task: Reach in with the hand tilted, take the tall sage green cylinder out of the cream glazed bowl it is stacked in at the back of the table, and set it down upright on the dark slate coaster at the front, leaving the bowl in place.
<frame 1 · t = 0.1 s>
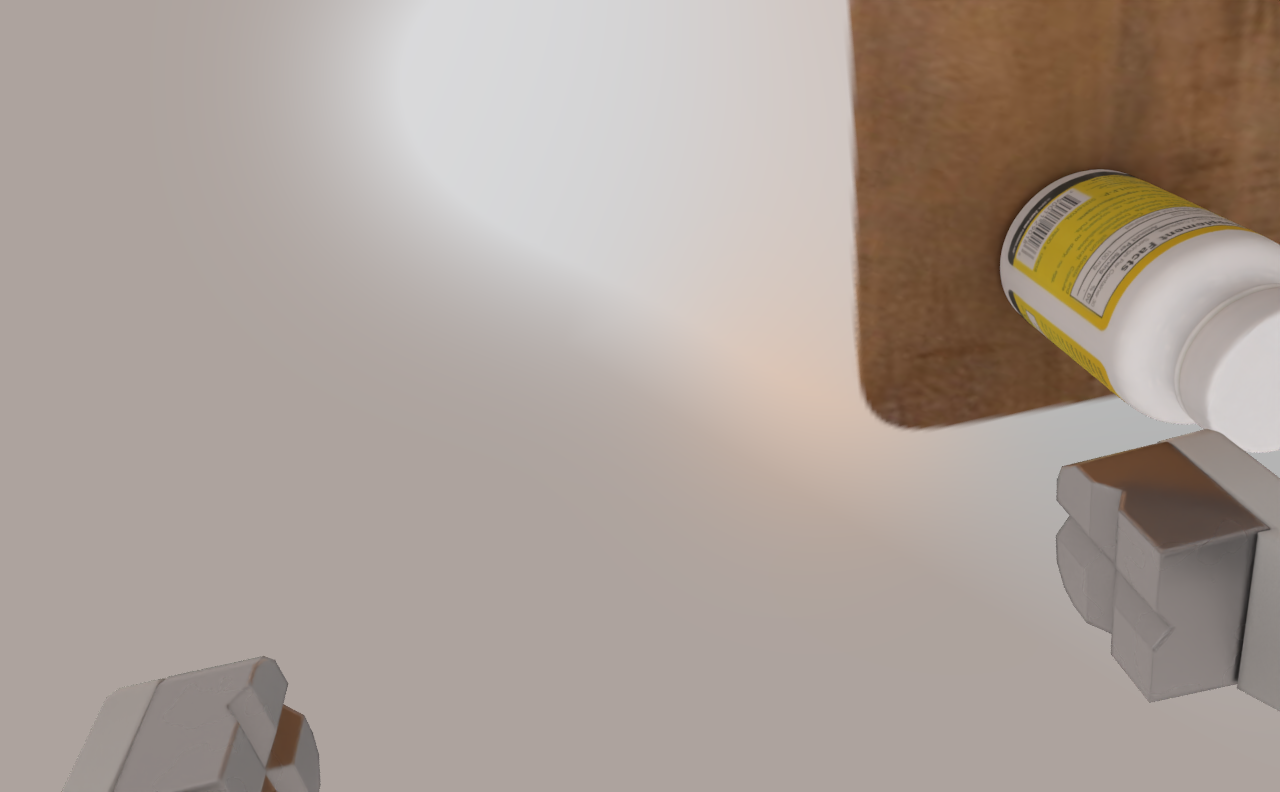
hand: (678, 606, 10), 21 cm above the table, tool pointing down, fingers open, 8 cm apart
supplement bottle: (1072, 244, 32), on the table
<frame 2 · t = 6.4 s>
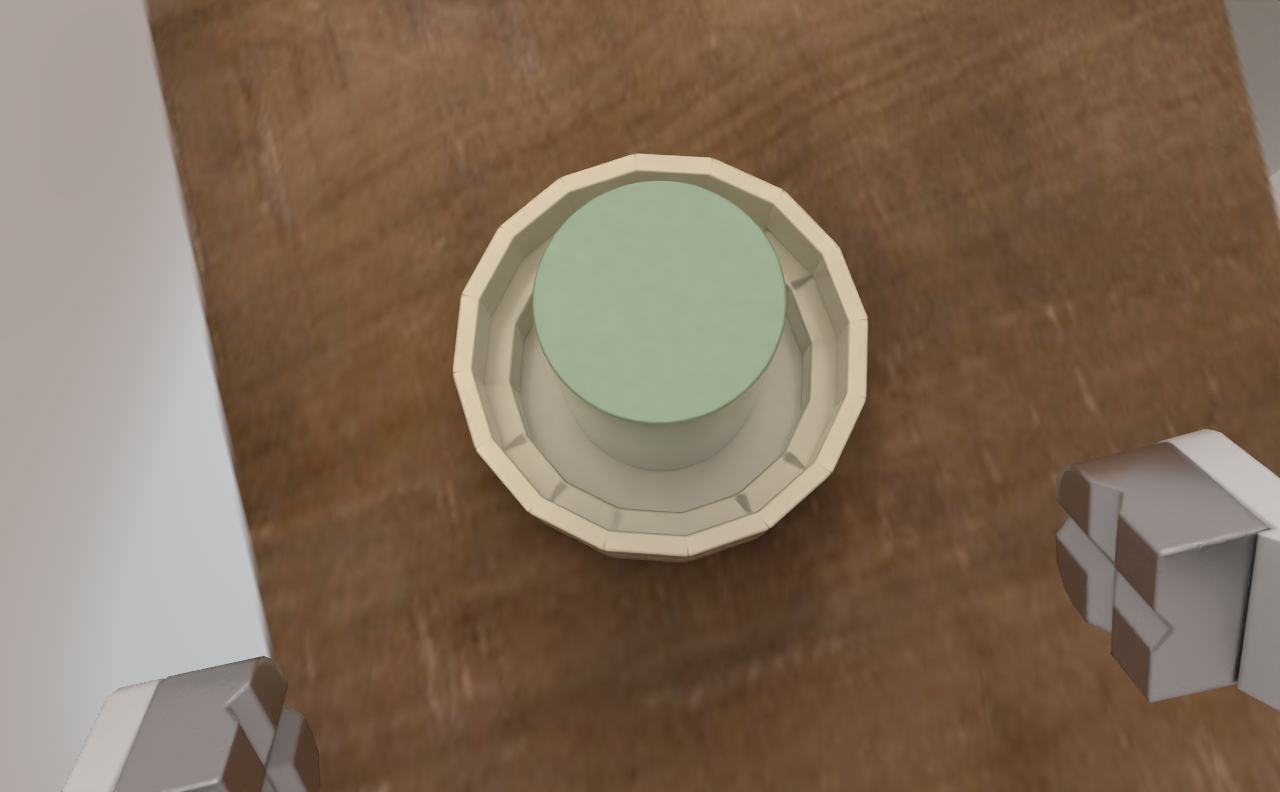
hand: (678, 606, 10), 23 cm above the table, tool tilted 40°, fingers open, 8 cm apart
sage green cylinder: (661, 375, 33), point 1 cm above the table, touching cream bowl
cream bowl: (661, 379, 34), on the table, touching sage green cylinder
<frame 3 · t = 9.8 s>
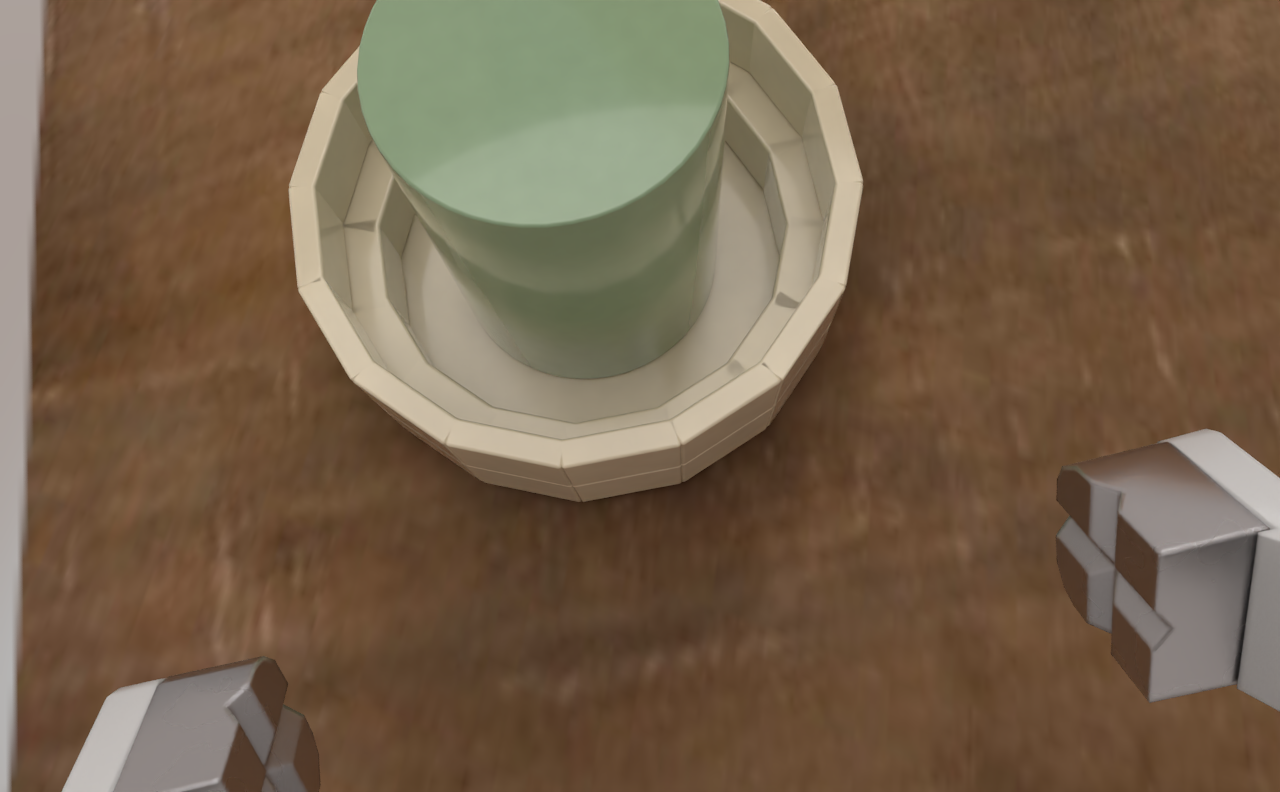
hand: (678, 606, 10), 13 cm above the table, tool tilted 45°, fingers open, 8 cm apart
sage green cylinder: (588, 258, 25), point 1 cm above the table, touching cream bowl
cream bowl: (591, 267, 26), on the table, touching sage green cylinder
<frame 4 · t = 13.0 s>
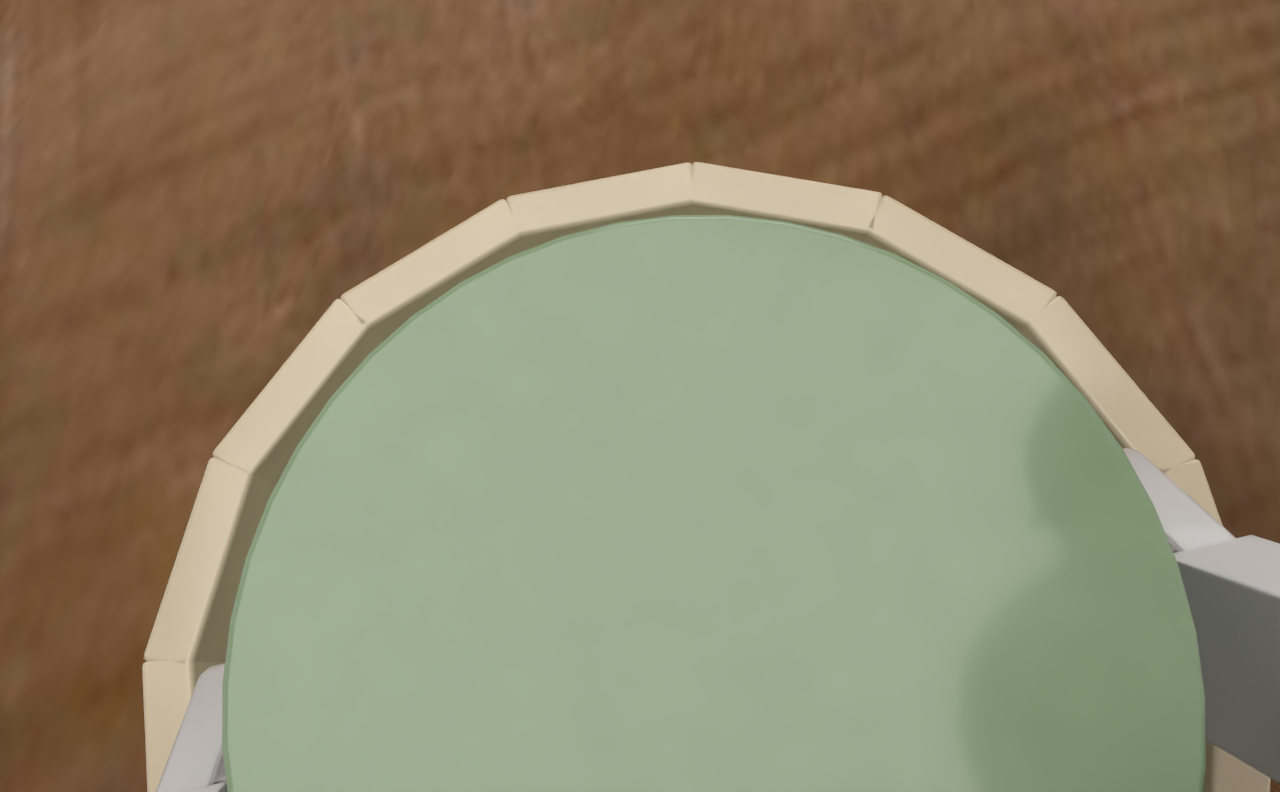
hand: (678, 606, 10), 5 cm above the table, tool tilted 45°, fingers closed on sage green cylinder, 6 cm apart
sage green cylinder: (694, 671, 15), point 1 cm above the table, touching cream bowl, gripper
cream bowl: (691, 671, 15), on the table, touching sage green cylinder
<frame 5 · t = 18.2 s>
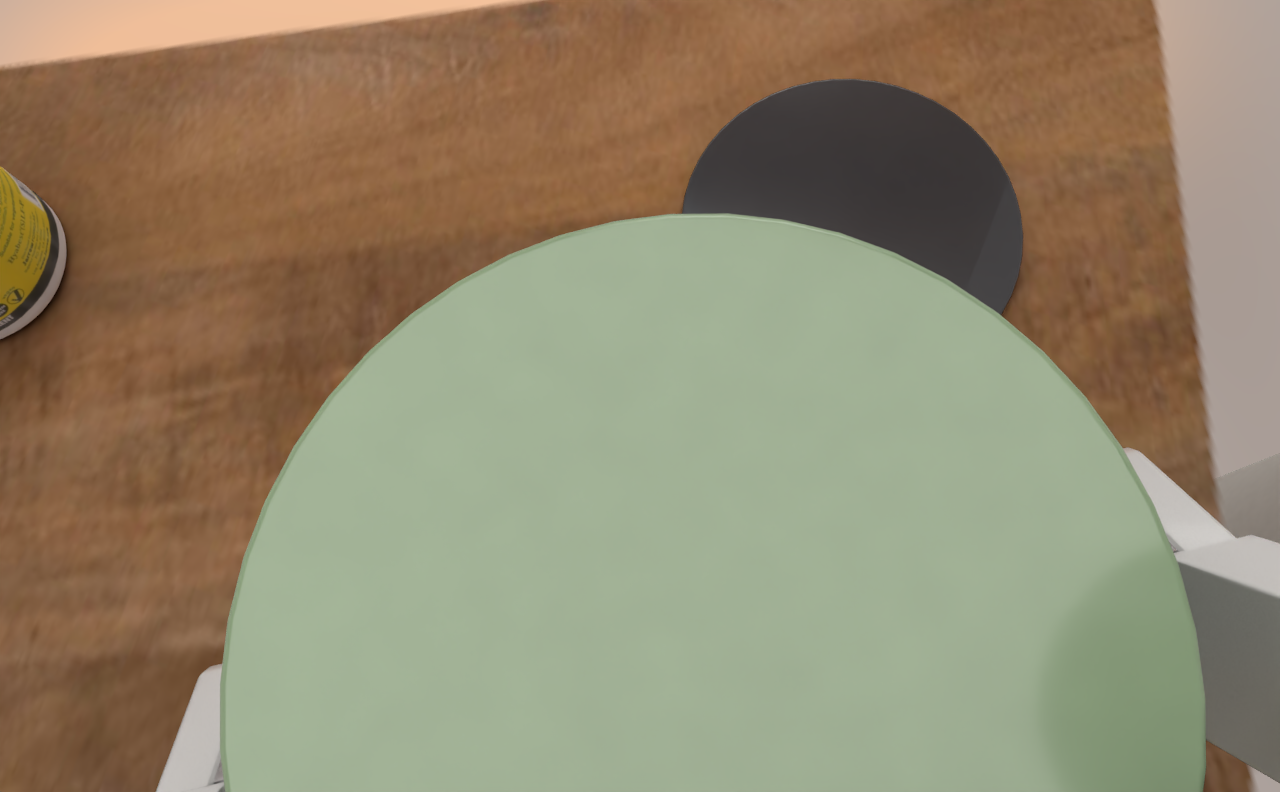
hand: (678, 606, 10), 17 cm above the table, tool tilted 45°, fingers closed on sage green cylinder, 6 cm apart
sage green cylinder: (693, 670, 15), point 12 cm above the table, touching gripper
slate coaster: (848, 233, 30), on the table
when the fingers open (5 cm above the table, at t = 23.9 s): sage green cylinder stays where it is, resting on slate coaster.
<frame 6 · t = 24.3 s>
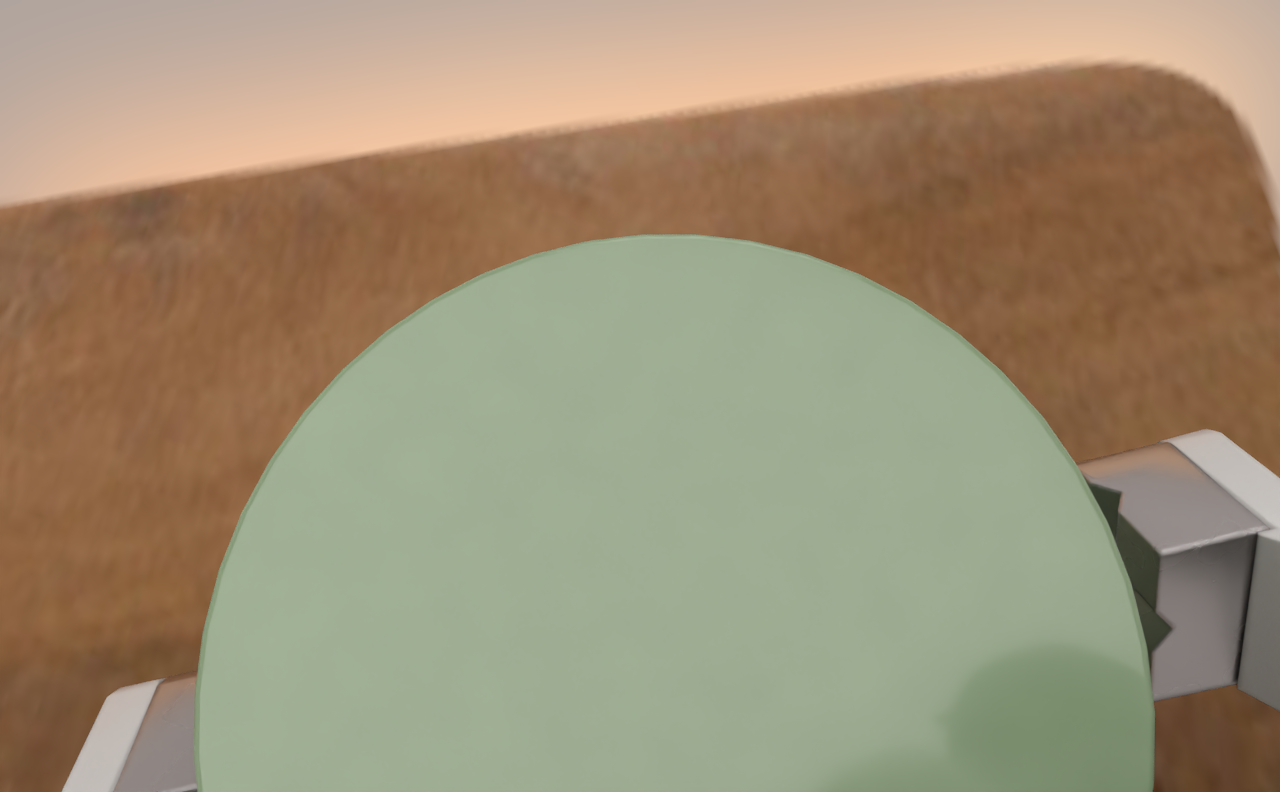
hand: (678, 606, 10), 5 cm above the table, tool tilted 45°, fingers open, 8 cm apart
sage green cylinder: (675, 677, 15), resting on slate coaster
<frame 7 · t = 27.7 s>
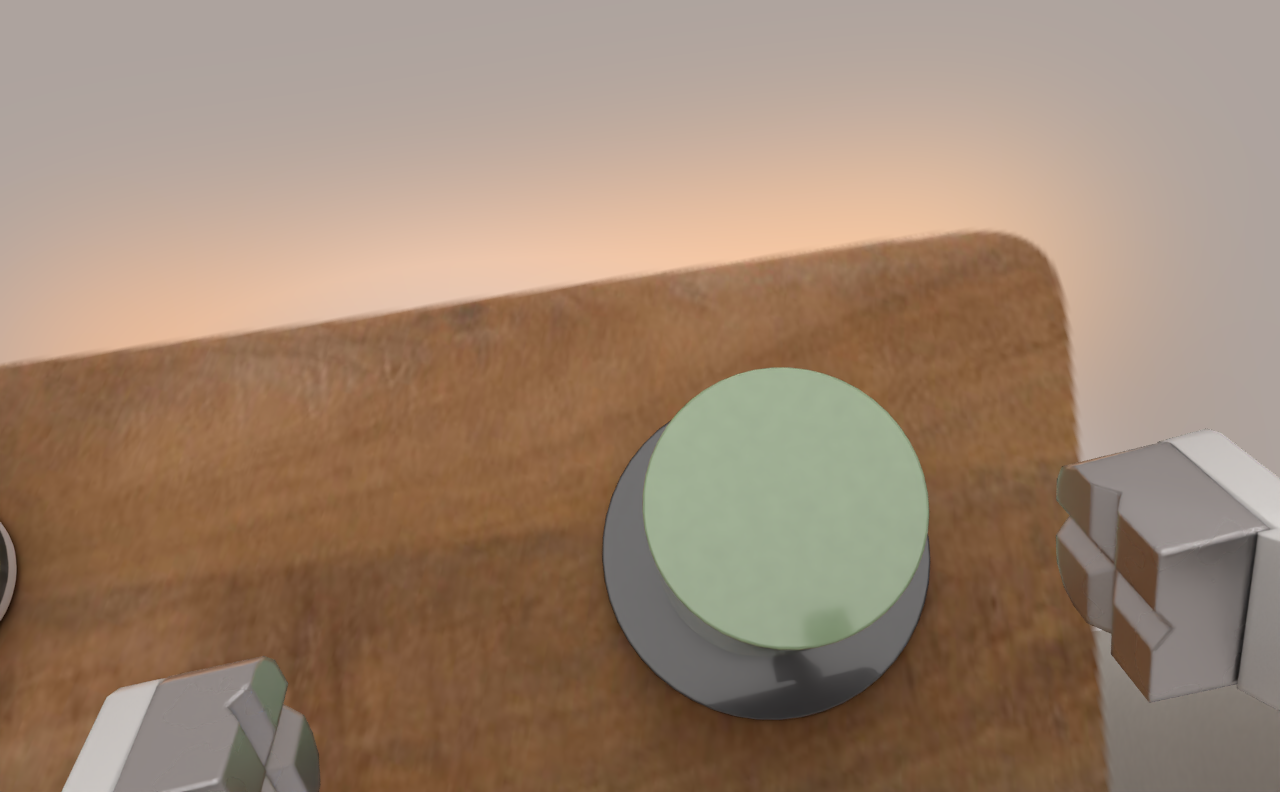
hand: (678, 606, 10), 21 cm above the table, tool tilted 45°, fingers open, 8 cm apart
sage green cylinder: (760, 549, 30), resting on slate coaster
slate coaster: (763, 550, 31), on the table
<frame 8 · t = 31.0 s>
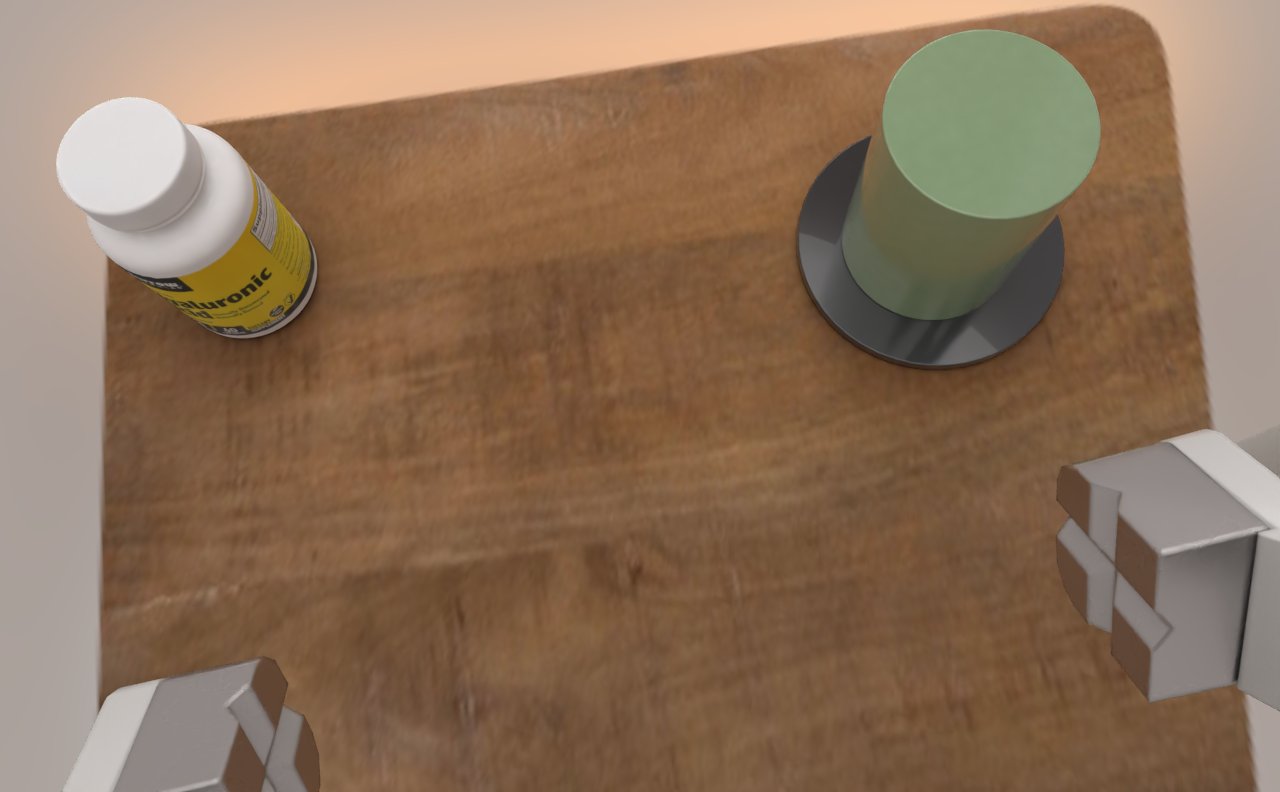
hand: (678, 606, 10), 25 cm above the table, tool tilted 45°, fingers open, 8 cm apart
sage green cylinder: (926, 241, 38), resting on slate coaster
slate coaster: (927, 246, 38), on the table
supplement bottle: (256, 280, 40), on the table
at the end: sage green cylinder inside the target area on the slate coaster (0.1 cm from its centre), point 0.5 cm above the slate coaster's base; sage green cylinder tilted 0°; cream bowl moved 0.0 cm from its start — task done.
